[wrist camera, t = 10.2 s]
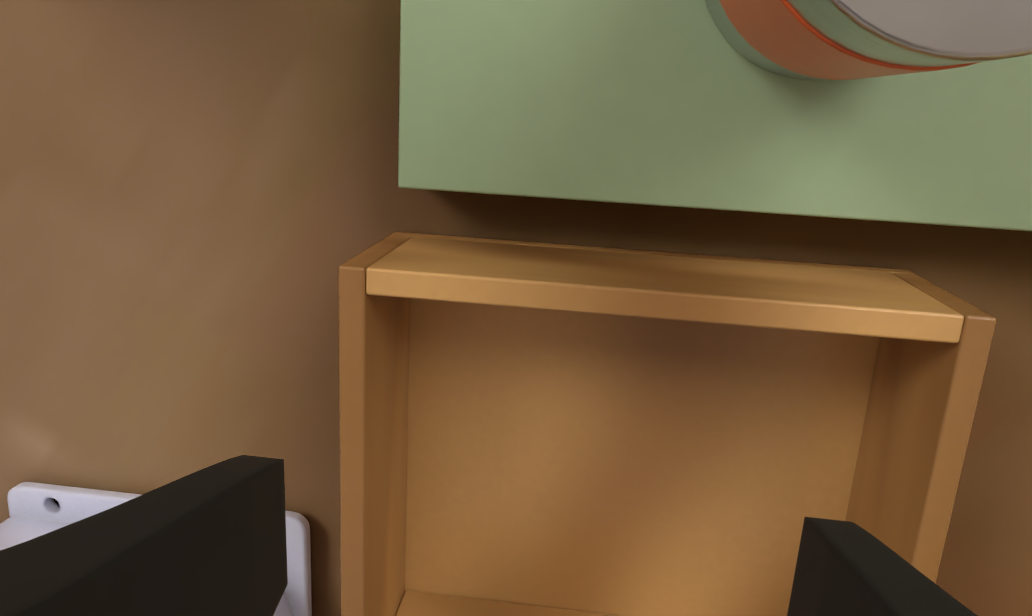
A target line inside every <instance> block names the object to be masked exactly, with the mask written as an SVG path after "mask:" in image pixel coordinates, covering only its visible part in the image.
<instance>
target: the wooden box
mask: <svg viewBox="0 0 1032 616" xmlns="http://www.w3.org/2000/svg"><path fill="white" fill-rule="evenodd" d="M338 274H339V405H340V537H341V616H787V613H788V608H789V602H790V596H791V591H792V585H793V579H794V574H795V568H796V563H797V557H798V551H799V546H800V540H801V534H802V529H803V523H804V518H805V517H813V518H822V519H831V520H840V521H849V522H854V523H855V524H857V525H858V526H860V527H861V528H863V529H864V530H866V531H867V532H869V533H870V534H872V535H873V536H874V537H876V538H877V539H878V540H880V541H881V542H882V543H884V544H885V545H886V546H888V547H889V548H890V549H891V550H893V551H894V552H895V553H897V554H898V555H899V556H900V557H902V558H903V559H904V560H906V561H907V562H908V563H909V564H911V565H912V566H913V567H915V568H916V569H917V570H918V571H920V572H921V573H922V574H924V575H925V576H926V577H927V578H929V579H930V580H931V581H933V582H934V583H936V579H937V575H938V571H939V566H940V562H941V558H942V553H943V549H944V545H945V540H946V536H947V532H948V527H949V523H950V519H951V515H952V510H953V506H954V502H955V497H956V493H957V489H958V484H959V480H960V476H961V471H962V467H963V463H964V459H965V454H966V450H967V446H968V441H969V437H970V433H971V428H972V424H973V420H974V415H975V411H976V407H977V403H978V398H979V394H980V390H981V385H982V381H983V377H984V372H985V368H986V364H987V359H988V355H989V351H990V347H991V342H992V338H993V334H994V329H995V325H996V318H995V317H993V316H991V315H989V314H987V313H985V312H984V311H982V310H980V309H978V308H976V307H974V306H973V305H971V304H969V303H967V302H965V301H963V300H962V299H960V298H958V297H956V296H954V295H952V294H950V293H949V292H947V291H945V290H943V289H941V288H939V287H938V286H936V285H934V284H932V283H930V282H928V281H927V280H925V279H923V278H921V277H919V276H917V275H915V274H914V273H912V272H911V271H909V270H902V269H888V268H875V267H861V266H848V265H835V264H821V263H808V262H794V261H781V260H767V259H754V258H741V257H727V256H714V255H700V254H687V253H673V252H660V251H647V250H633V249H620V248H606V247H593V246H579V245H566V244H553V243H539V242H526V241H512V240H499V239H486V238H472V237H459V236H445V235H432V234H418V233H405V232H394V233H393V234H391V235H390V236H388V237H387V238H385V239H383V240H382V241H380V242H378V243H377V244H375V245H373V246H372V247H370V248H368V249H367V250H365V251H363V252H362V253H360V254H358V255H357V256H355V257H353V258H352V259H350V260H348V261H347V262H345V263H343V264H342V265H340V266H339V268H338Z"/></svg>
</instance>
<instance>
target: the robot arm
mask: <svg viewBox="0 0 1032 616" xmlns="http://www.w3.org/2000/svg"><path fill="white" fill-rule="evenodd" d="M53 498H54V499H56V500H57V501H58V502H59V505H60V506H58V505H57V504H56V503H55V502H54V500H53ZM7 500H8V507H9V515H10V518H8V519H7V520H5V521H4V522H2V523H1V524H0V616H312V598H311V547H310V526H309V522H308V521H307V519H306V518H305V517H304V516H303V515H301V514H300V513H297V512H293V511H285V485H284V459H275V458H266V457H256V456H247V455H242V456H238V457H235V458H231V459H228V460H225V461H222V462H220V463H217V464H215V465H212V466H209V467H207V468H204V469H202V470H200V471H197V472H195V473H192V474H190V475H188V476H185V477H183V478H181V479H178V480H176V481H174V482H171V483H169V484H167V485H164V486H162V487H159V488H157V489H155V490H152V491H150V492H148V493H145V494H143V495H141V494H132V493H124V492H115V491H106V490H97V489H88V488H79V487H70V486H61V485H52V484H43V483H34V482H22V483H20V484H18V485H17V486H15V487H14V488H12V489H11V490H10V491H9V493H8V498H7ZM787 616H977V615H976V614H974V613H973V612H972V611H970V610H969V609H968V608H966V607H965V606H964V605H962V604H961V603H960V602H959V601H957V600H956V599H955V598H953V597H952V596H951V595H949V594H948V593H947V592H945V591H944V590H943V589H942V588H940V587H939V586H938V585H936V584H935V583H934V582H933V581H931V580H930V579H929V578H927V577H926V576H925V575H924V574H922V573H921V572H920V571H918V570H917V569H916V568H915V567H913V566H912V565H911V564H909V563H908V562H907V561H906V560H904V559H903V558H902V557H900V556H899V555H898V554H897V553H895V552H894V551H893V550H891V549H890V548H889V547H888V546H886V545H885V544H884V543H882V542H881V541H880V540H878V539H877V538H876V537H874V536H873V535H872V534H870V533H869V532H867V531H866V530H864V529H863V528H861V527H860V526H858V525H857V524H855V523H854V522H849V521H840V520H831V519H822V518H813V517H805V518H804V523H803V529H802V534H801V540H800V546H799V551H798V557H797V563H796V568H795V574H794V579H793V585H792V591H791V596H790V602H789V608H788V613H787Z"/></svg>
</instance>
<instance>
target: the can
mask: <svg viewBox="0 0 1032 616" xmlns="http://www.w3.org/2000/svg"><path fill="white" fill-rule="evenodd" d="M705 2H706V5H707V8H708V11H709V13H710V15H711V17H712V19H713V21H714V23H715V25H716V26H717V28H718V29H719V30H720V32H721V33H722V35H723V36H724V38H725V39H726V40H727V41H728V42H729V43H730V44H731V45H732V46H733V48H734V49H735V50H736V51H738V52H739V53H740V54H741V55H743V56H744V57H745V58H746V59H748V60H749V61H751V62H752V63H754V64H756V65H757V66H759V67H761V68H763V69H765V70H768V71H770V72H772V73H775V74H777V75H781V76H785V77H789V78H794V79H802V80H829V79H831V80H852V79H862V78H871V77H881V76H890V75H900V74H909V73H919V72H928V71H937V70H945V69H952V68H959V67H965V66H969V65H973V64H976V63H980V62H984V61H992V60H999V59H1006V58H1013V57H1020V56H1026V55H1029V54H1032V0H705Z"/></svg>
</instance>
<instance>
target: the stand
mask: <svg viewBox="0 0 1032 616" xmlns="http://www.w3.org/2000/svg"><path fill="white" fill-rule="evenodd" d="M398 186H399V187H400V188H409V189H424V190H438V191H453V192H467V193H482V194H496V195H511V196H525V197H540V198H555V199H569V200H584V201H598V202H613V203H627V204H642V205H656V206H671V207H685V208H700V209H714V210H729V211H743V212H758V213H773V214H787V215H802V216H816V217H831V218H845V219H860V220H874V221H889V222H903V223H918V224H932V225H947V226H962V227H976V228H991V229H1005V230H1020V231H1032V54H1029V55H1026V56H1020V57H1013V58H1006V59H999V60H992V61H984V62H980V63H976V64H973V65H969V66H965V67H959V68H952V69H945V70H937V71H928V72H919V73H909V74H900V75H890V76H881V77H871V78H862V79H852V80H831V79H829V80H802V79H794V78H789V77H785V76H781V75H777V74H775V73H772V72H770V71H768V70H765V69H763V68H761V67H759V66H757V65H756V64H754V63H752V62H751V61H749V60H748V59H746V58H745V57H744V56H743V55H741V54H740V53H739V52H738V51H736V50H735V49H734V48H733V46H732V45H731V44H730V43H729V42H728V41H727V40H726V39H725V38H724V36H723V35H722V33H721V32H720V30H719V29H718V28H717V26H716V25H715V23H714V21H713V19H712V17H711V15H710V13H709V11H708V8H707V5H706V2H705V0H401V10H400V84H399V159H398Z"/></svg>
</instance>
